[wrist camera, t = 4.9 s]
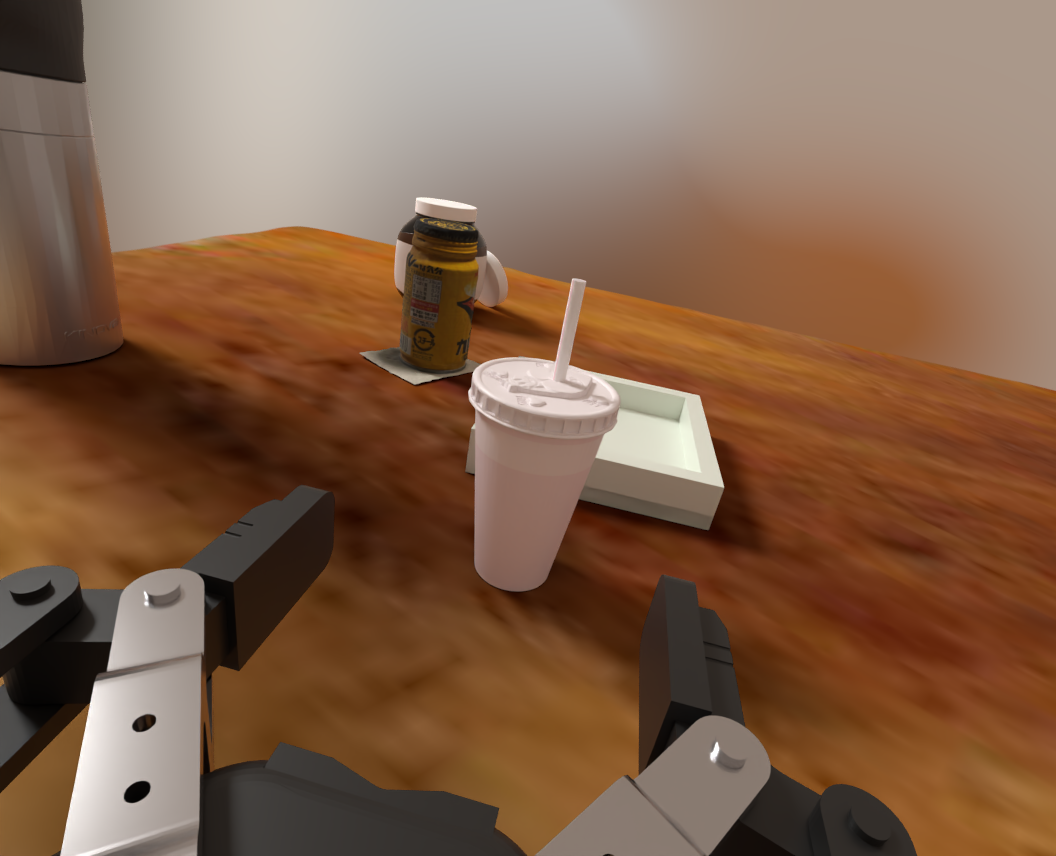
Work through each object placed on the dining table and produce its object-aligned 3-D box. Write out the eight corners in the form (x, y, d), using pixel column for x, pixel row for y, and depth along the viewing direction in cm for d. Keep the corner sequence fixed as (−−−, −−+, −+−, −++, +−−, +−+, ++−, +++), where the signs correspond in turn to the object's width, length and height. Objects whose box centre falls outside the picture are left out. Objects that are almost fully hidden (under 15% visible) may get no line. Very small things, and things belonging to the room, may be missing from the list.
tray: (465, 471, 35) (471, 428, 34) (513, 388, 49) (519, 355, 47) (708, 530, 34) (724, 487, 32) (688, 428, 47) (699, 395, 46)
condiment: (486, 369, 52) (506, 233, 47) (414, 386, 46) (427, 231, 40) (432, 343, 56) (445, 215, 51) (359, 356, 49) (365, 211, 44)
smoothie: (601, 592, 27) (684, 305, 21) (482, 629, 24) (542, 302, 18) (532, 516, 32) (584, 264, 26) (425, 539, 29) (457, 255, 23)
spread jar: (382, 300, 67) (388, 194, 62) (433, 287, 76) (441, 195, 71) (473, 326, 63) (487, 216, 58) (513, 309, 73) (529, 214, 68)
